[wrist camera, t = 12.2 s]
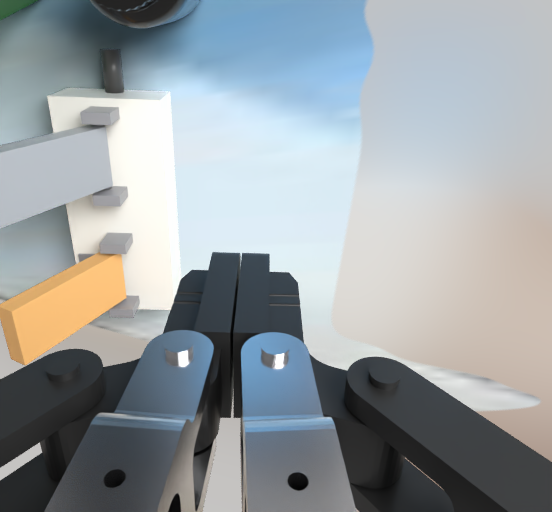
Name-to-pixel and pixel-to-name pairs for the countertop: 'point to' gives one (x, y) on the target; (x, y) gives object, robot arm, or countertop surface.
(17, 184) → the grey switch
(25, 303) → the orange switch
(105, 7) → the supplement bottle
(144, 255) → the power strip
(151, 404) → the robot arm
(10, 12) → the green cereal box
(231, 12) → the countertop surface
